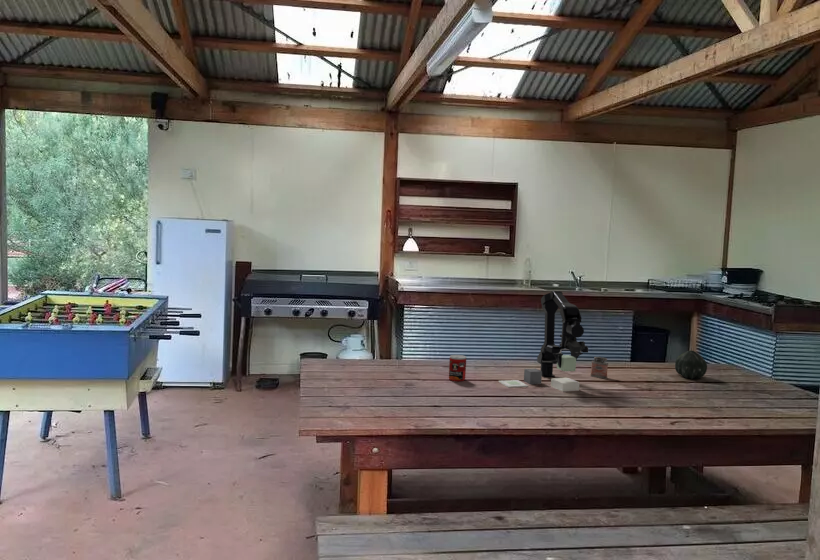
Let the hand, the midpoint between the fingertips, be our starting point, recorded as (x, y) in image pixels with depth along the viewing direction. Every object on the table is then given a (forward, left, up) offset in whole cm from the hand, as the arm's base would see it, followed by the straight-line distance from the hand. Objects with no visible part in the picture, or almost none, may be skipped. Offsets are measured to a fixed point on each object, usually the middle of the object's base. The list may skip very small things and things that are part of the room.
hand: (566, 367), depth 291 cm
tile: (-10, -21, -10) cm, 25 cm away
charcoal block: (-12, -10, -10) cm, 18 cm away
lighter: (-18, +30, -10) cm, 36 cm away
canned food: (-22, -44, -10) cm, 50 cm away
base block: (0, 0, -10) cm, 10 cm away
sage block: (0, 0, -1) cm, 1 cm away
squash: (-11, +79, -10) cm, 80 cm away
